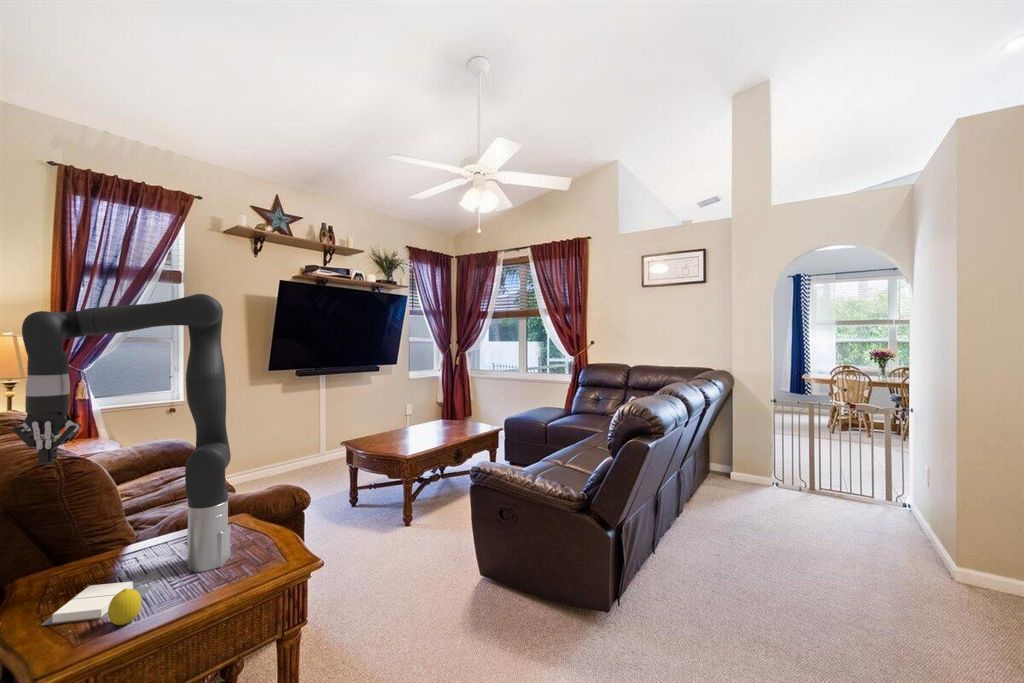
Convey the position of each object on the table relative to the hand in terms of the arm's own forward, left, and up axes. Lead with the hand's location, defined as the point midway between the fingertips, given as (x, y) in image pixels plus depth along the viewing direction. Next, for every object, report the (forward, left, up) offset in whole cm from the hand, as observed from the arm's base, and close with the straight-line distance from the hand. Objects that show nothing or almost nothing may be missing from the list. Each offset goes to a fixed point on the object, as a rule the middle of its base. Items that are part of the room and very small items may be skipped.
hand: (47, 463), depth 109 cm
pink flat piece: (-11, +12, -30) cm, 35 cm away
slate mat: (-17, +9, -32) cm, 37 cm away
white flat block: (-11, +6, -30) cm, 33 cm away
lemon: (-26, +18, -32) cm, 45 cm away
